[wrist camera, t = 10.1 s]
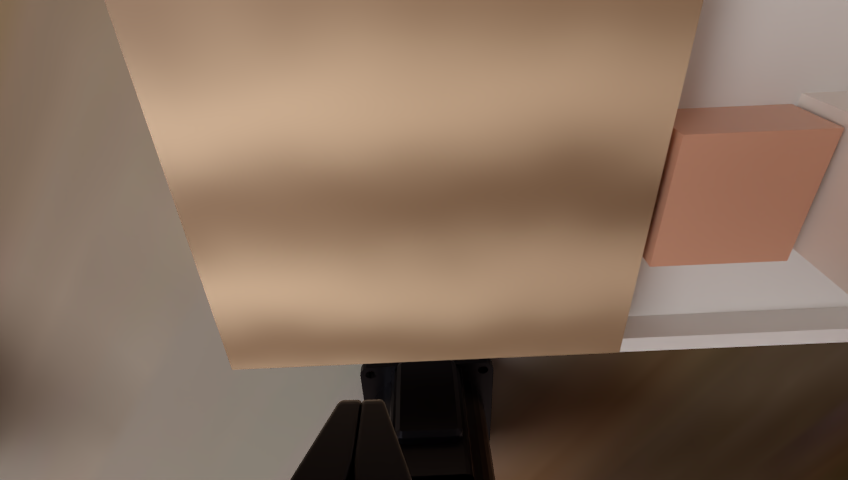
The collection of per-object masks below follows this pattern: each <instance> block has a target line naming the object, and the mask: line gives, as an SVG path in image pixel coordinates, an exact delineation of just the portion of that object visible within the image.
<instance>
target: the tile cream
mask: <svg viewBox="0 0 848 480" xmlns="http://www.w3.org/2000/svg"><path fill="white" fill-rule="evenodd" d="M797 107H800V108H802V109H804V110H806V111H808V112H811V113H813V114H815V115H817V116H819V117H822V118H824V119H826V120H828V121H830V122H833V123H835V124H837V125H839V126H841V127H844V130H843V133H842V135H841V137H840V140H839V142H838V144H837V146H836V149H835V151H834V153H833V156H832V158H831V160H830V163H829V165H828V167H827V170H826V172H825V174H824V177H823V179H822V181H821V184H820V186H819V188H818V191H817V193H816V195H815V198H814V200H813V202H812V205H811V207H810V209H809V211H808V214H807V216H806V218H805V221H804V223H803V225H802V228H801V230H800V232H799V235H798V237H797V239H796V242H795V244H794V246H793V249H794V250H795V251H796V252H798V253H799V254H800V255H801V256H802V257H804V258H805V259H806V260H807V261H808V262H810V263H811V264H812V265H813V266H814V267H816V268H817V269H818V270H819V271H820V272H822V273H823V274H824V275H825V276H826V277H828V278H829V279H830V280H831V281H832V282H834V283H835V284H836V285H837V286H838V287H840V288H841V289H842V290H843V291H844V292H846V293H847V294H848V91H837V92H814V93H802V94H801V96H800V99H799V102H798V105H797Z"/></svg>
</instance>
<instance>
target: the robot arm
mask: <svg viewBox="0 0 848 480" xmlns="http://www.w3.org/2000/svg"><path fill="white" fill-rule="evenodd" d="M482 366H485V367H482ZM369 371H373V372H369ZM360 376H361V382H362V389H363V395H364V401H363V402H362V403H361V401H360V400H343V401H340V402H339V403H338V404H337V406H336V407H335V409H334V411H333V412H332V414H331V416H330V417H329V419H328V420H327V422H326V424H325V425H324V427H323V428H322V430H321V432H320V433H319V435H318V436H317V438H316V440H315V441H314V443H313V444H312V446H311V448H310V449H309V451H308V452H307V454H306V456H305V457H304V459H303V460H302V462H301V464H300V465H299V467H298V468H297V470H296V472H295V473H294V475H293V476H292V478H291V480H495V475H494V469H493V463H492V456H491V450H490V443H489V441H490V422H491V403H492V384H493V365H492V361H491V360H490V359H489V358H485V359H462V360H439V361H417V362H394V363H371V364H363V365H362V367H361V375H360Z"/></svg>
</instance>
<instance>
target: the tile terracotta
mask: <svg viewBox="0 0 848 480" xmlns="http://www.w3.org/2000/svg"><path fill="white" fill-rule="evenodd" d="M843 130H844V127H841V126H839V125H837V124H835V123H833V122H830V121H828V120H826V119H824V118H822V117H819V116H817V115H815V114H813V113H811V112H808V111H806V110H804V109H802V108H800V107H797V106H795V105H793V104H778V105H755V106H732V107H709V108H686V109H677V114H676V118H675V122H674V126H673V130H672V134H671V139H670V143H669V147H668V151H667V155H666V160H665V164H664V168H663V172H662V176H661V181H660V185H659V189H658V193H657V197H656V202H655V206H654V210H653V214H652V218H651V222H650V227H649V231H648V235H647V239H646V243H645V248H644V252H643V258H644V259H645V261H646V262H647V263H648V265H649V266H650V267H657V266H680V265H703V264H726V263H749V262H772V261H787V260H788V258H789V256H790V253H791V251H792V249H793V246H794V244H795V242H796V239H797V237H798V235H799V232H800V230H801V228H802V225H803V223H804V221H805V218H806V216H807V214H808V211H809V209H810V207H811V205H812V202H813V200H814V198H815V195H816V193H817V191H818V188H819V186H820V184H821V181H822V179H823V177H824V174H825V172H826V170H827V167H828V165H829V163H830V160H831V158H832V156H833V153H834V151H835V149H836V146H837V144H838V142H839V140H840V137H841V135H842V133H843Z"/></svg>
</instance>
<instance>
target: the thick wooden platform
mask: <svg viewBox="0 0 848 480" xmlns="http://www.w3.org/2000/svg"><path fill="white" fill-rule="evenodd" d="M104 1H105V4H106V6H107V9H108V12H109V15H110V18H111V21H112V24H113V27H114V30H115V32H116V35H117V38H118V41H119V44H120V47H121V50H122V53H123V56H124V58H125V61H126V64H127V67H128V70H129V73H130V76H131V79H132V82H133V84H134V87H135V90H136V93H137V96H138V99H139V102H140V105H141V108H142V111H143V113H144V116H145V119H146V122H147V125H148V128H149V131H150V134H151V137H152V139H153V142H154V145H155V148H156V151H157V154H158V157H159V160H160V163H161V165H162V168H163V171H164V174H165V177H166V180H167V183H168V186H169V189H170V191H171V194H172V197H173V200H174V203H175V206H176V209H177V212H178V215H179V217H180V220H181V223H182V226H183V229H184V232H185V235H186V238H187V241H188V243H189V246H190V249H191V252H192V255H193V258H194V261H195V264H196V267H197V269H198V272H199V275H200V278H201V281H202V284H203V287H204V290H205V293H206V296H207V298H208V301H209V304H210V307H211V310H212V313H213V316H214V319H215V322H216V324H217V327H218V330H219V333H220V336H221V339H222V342H223V345H224V348H225V350H226V353H227V356H228V359H229V362H230V365H231V368H232V370H235V369H258V368H281V367H303V366H326V365H349V364H371V363H394V362H417V361H439V360H462V359H485V358H508V357H530V356H553V355H576V354H598V353H619V352H620V348H621V344H622V340H623V336H624V331H625V327H626V323H627V319H628V315H629V310H630V306H631V302H632V298H633V294H634V290H635V285H636V281H637V277H638V273H639V269H640V264H641V260H642V256H643V252H644V248H645V243H646V239H647V235H648V231H649V227H650V222H651V218H652V214H653V210H654V206H655V202H656V197H657V193H658V189H659V185H660V181H661V176H662V172H663V168H664V164H665V160H666V155H667V151H668V147H669V143H670V139H671V134H672V130H673V126H674V122H675V118H676V114H677V109H678V105H679V101H680V97H681V93H682V88H683V84H684V80H685V76H686V72H687V67H688V63H689V59H690V55H691V51H692V46H693V42H694V38H695V34H696V30H697V26H698V21H699V17H700V13H701V9H702V5H703V0H104Z"/></svg>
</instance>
